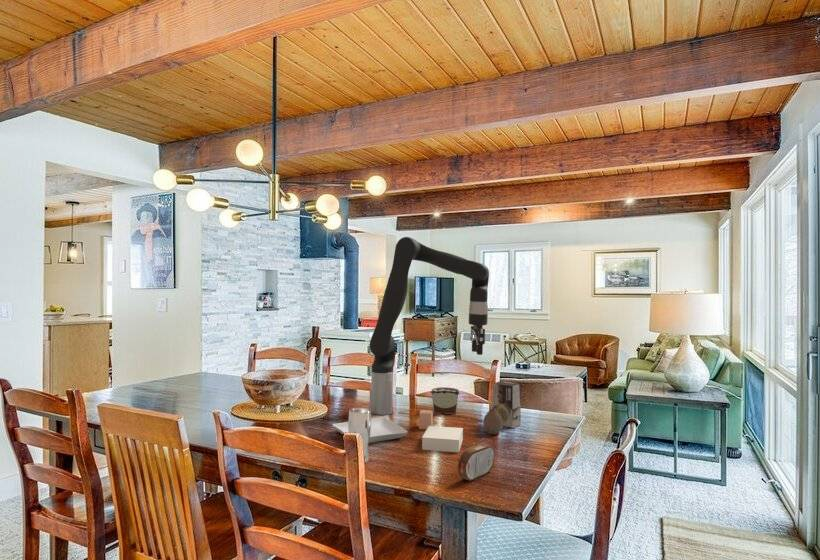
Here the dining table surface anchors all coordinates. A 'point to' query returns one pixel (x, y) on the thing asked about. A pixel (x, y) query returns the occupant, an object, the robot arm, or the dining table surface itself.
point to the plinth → (442, 439)
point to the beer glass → (361, 426)
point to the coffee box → (508, 402)
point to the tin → (476, 461)
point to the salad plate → (377, 429)
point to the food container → (445, 400)
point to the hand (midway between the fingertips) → (476, 353)
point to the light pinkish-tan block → (425, 419)
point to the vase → (492, 422)
